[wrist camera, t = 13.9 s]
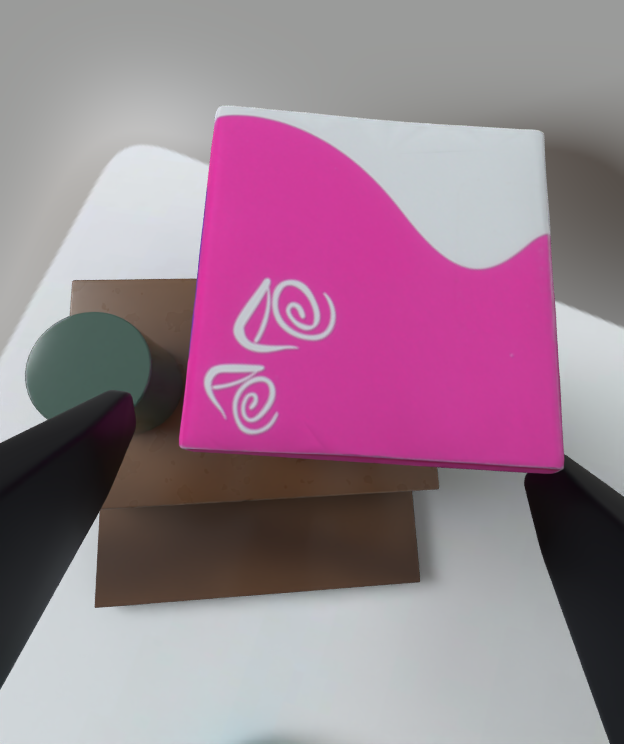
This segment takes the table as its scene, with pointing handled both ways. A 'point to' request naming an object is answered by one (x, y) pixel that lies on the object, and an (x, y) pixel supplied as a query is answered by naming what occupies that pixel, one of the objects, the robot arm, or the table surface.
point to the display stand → (238, 497)
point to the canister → (102, 368)
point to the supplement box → (375, 295)
